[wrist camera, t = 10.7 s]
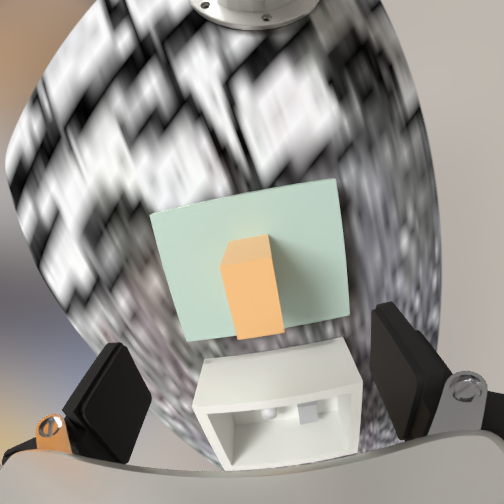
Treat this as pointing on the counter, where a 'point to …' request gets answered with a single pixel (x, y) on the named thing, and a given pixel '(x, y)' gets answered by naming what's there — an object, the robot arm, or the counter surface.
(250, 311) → the lid
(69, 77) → the counter surface
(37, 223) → the counter surface
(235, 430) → the tub
